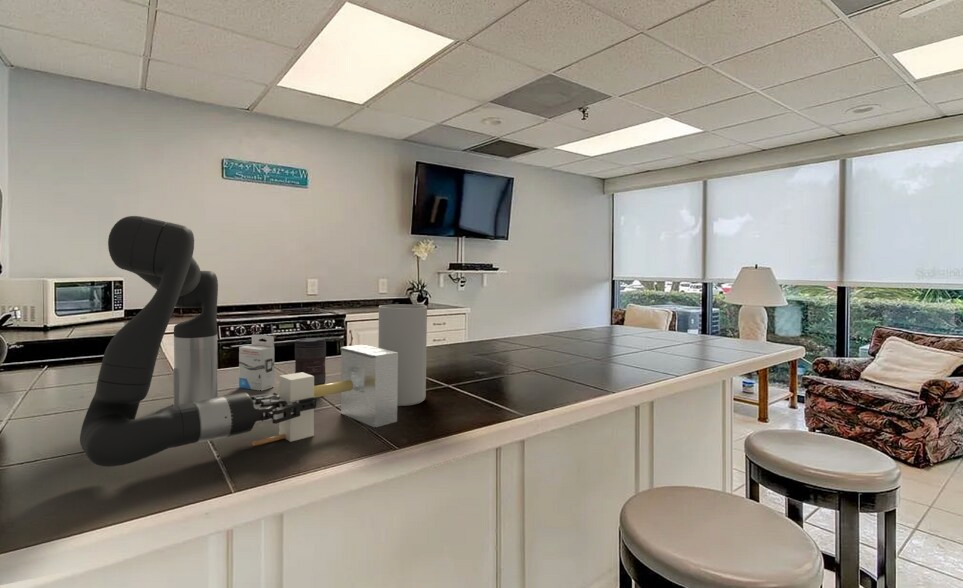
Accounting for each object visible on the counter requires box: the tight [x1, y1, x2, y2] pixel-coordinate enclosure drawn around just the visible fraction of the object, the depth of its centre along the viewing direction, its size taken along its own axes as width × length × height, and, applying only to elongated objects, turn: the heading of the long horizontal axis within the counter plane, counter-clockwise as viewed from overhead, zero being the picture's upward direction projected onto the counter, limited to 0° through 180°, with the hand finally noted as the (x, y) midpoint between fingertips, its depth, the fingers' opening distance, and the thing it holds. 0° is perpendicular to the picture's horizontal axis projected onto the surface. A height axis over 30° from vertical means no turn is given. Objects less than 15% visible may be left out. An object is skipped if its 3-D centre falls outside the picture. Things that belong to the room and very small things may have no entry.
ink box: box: [238, 334, 275, 392], centre depth 136 cm, size 9×5×15 cm, turn 71°
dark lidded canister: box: [294, 337, 327, 386], centre depth 131 cm, size 8×8×15 cm
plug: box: [251, 372, 353, 447], centre depth 100 cm, size 21×5×12 cm, turn 137°
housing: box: [339, 344, 398, 428], centre depth 111 cm, size 7×14×16 cm, turn 47°
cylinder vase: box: [377, 303, 428, 407], centre depth 126 cm, size 12×12×25 cm
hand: (308, 399), depth 101 cm, fingers closed on plug, 5 cm apart
